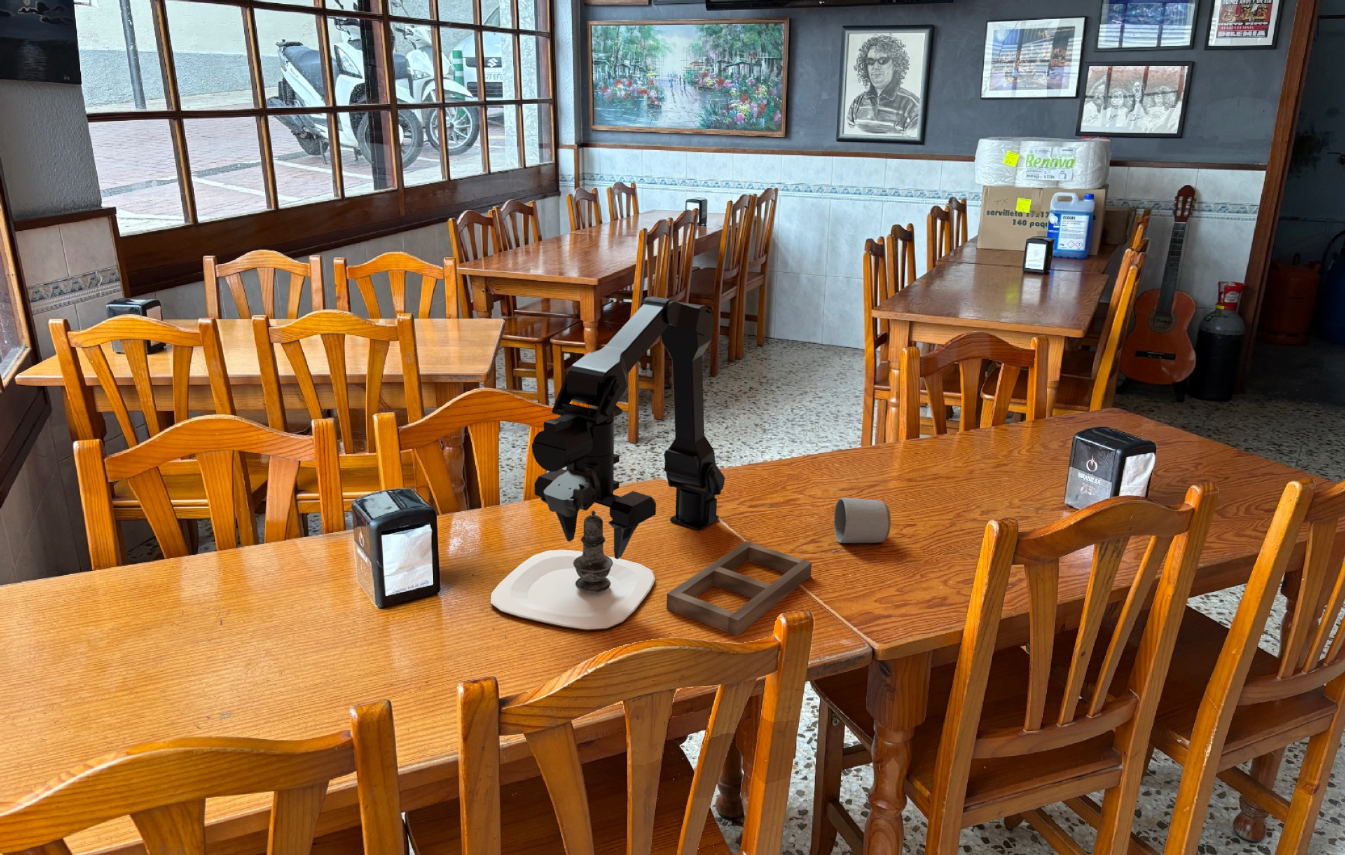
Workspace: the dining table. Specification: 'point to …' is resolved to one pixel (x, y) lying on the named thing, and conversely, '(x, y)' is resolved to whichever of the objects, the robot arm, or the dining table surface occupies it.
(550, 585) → the plate
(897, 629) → the dining table surface
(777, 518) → the dining table surface
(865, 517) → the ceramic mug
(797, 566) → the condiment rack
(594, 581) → the salt shaker
